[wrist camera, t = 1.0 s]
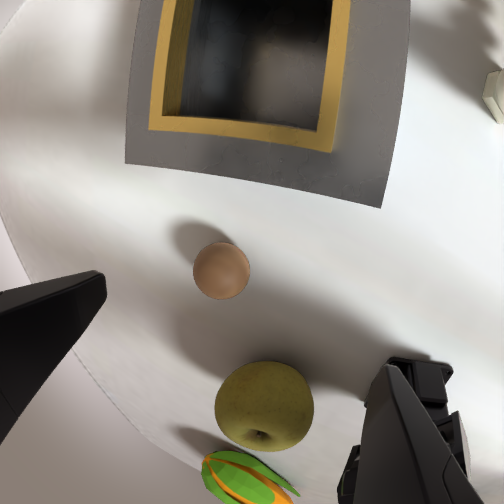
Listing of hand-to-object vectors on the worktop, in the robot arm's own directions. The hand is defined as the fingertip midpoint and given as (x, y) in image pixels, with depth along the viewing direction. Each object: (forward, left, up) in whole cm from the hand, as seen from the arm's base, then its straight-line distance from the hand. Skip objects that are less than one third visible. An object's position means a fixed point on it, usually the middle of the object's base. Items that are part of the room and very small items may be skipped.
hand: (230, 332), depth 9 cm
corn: (-38, -3, -13) cm, 40 cm away
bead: (-5, +4, -12) cm, 14 cm away
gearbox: (+10, +2, -12) cm, 16 cm away
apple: (-15, -1, -13) cm, 20 cm away
